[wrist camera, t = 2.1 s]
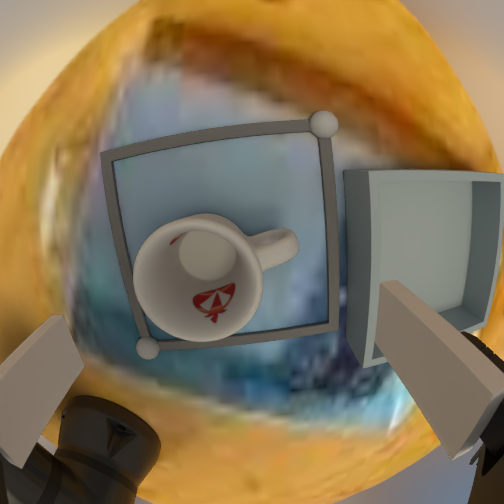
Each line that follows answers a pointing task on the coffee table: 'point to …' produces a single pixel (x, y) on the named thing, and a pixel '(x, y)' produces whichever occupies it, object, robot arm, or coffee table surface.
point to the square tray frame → (319, 125)
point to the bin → (421, 245)
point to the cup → (206, 275)
